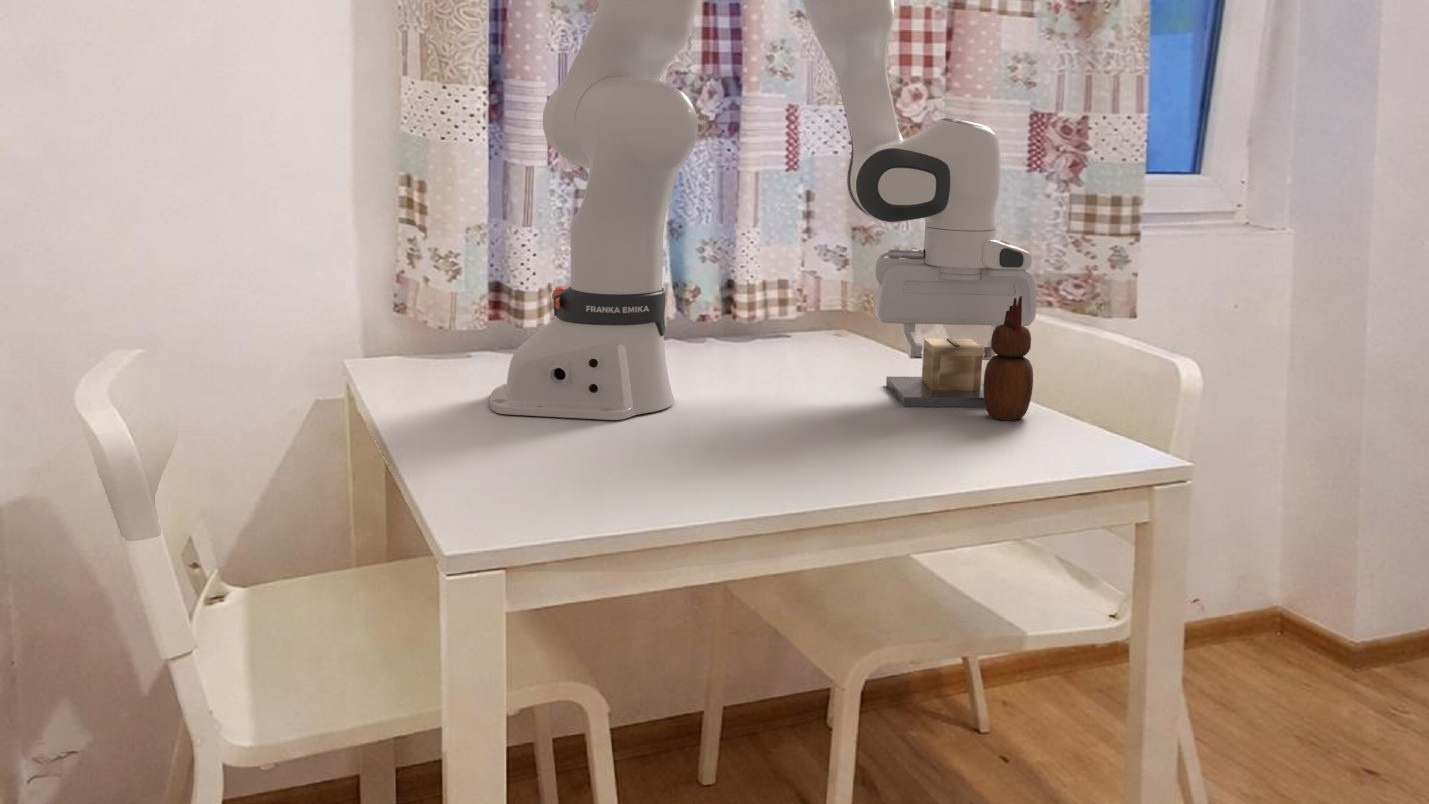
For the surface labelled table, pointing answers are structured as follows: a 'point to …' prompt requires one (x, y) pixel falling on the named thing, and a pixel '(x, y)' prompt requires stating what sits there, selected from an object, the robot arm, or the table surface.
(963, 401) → the plate
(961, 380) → the wooden coin bank
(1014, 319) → the wooden figurine
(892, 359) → the table surface
